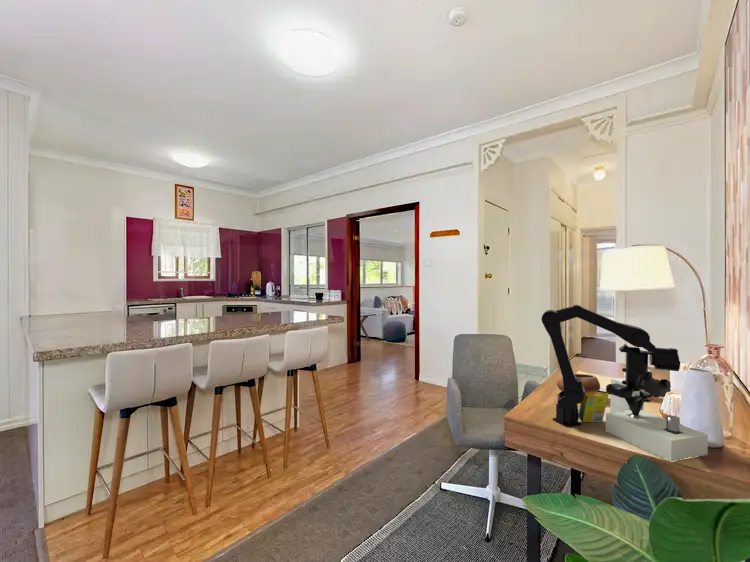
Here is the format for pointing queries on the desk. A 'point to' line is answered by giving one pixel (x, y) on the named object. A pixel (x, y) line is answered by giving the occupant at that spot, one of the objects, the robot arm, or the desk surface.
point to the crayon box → (593, 407)
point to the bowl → (583, 382)
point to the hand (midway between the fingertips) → (635, 415)
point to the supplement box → (619, 399)
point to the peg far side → (672, 424)
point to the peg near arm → (636, 416)
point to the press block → (656, 435)
